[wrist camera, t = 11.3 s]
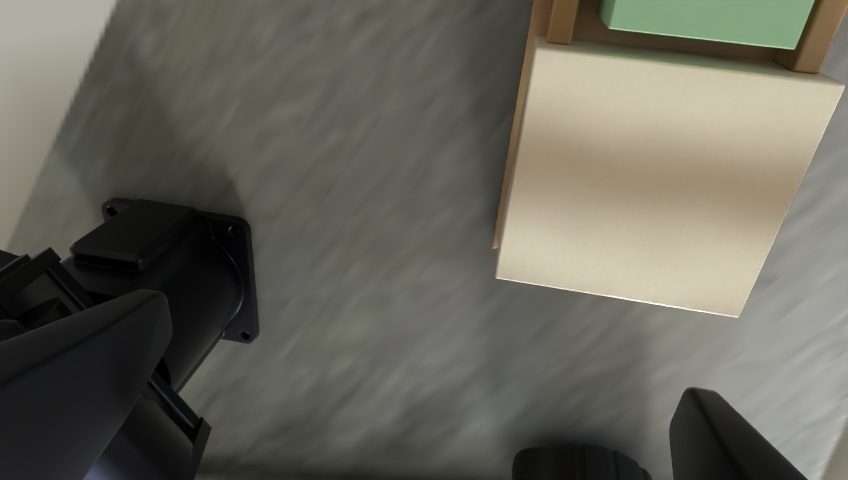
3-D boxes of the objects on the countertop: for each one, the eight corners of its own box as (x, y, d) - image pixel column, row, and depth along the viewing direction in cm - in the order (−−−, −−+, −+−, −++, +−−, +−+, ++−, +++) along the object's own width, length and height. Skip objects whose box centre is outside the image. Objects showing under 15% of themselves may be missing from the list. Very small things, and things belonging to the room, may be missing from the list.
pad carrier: (715, 273, 21) (743, 324, 18) (493, 238, 22) (487, 282, 19) (952, -301, 13) (1067, -366, 10) (587, -319, 14) (601, -382, 11)
